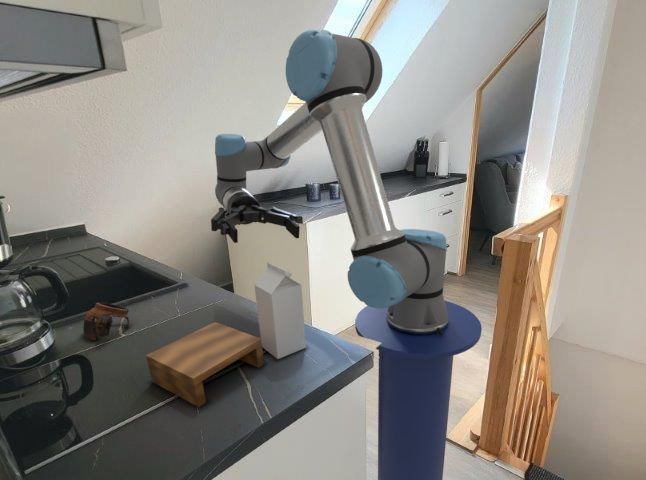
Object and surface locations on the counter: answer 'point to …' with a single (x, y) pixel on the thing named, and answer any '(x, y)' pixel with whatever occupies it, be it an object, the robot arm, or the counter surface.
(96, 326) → the pottery mug
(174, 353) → the oak shelf
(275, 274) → the milk carton
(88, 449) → the counter surface
